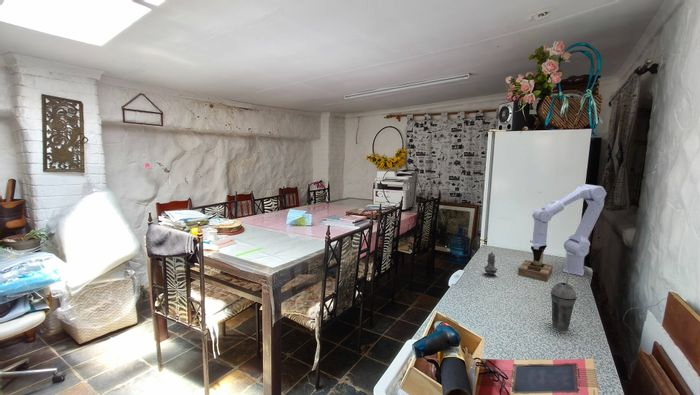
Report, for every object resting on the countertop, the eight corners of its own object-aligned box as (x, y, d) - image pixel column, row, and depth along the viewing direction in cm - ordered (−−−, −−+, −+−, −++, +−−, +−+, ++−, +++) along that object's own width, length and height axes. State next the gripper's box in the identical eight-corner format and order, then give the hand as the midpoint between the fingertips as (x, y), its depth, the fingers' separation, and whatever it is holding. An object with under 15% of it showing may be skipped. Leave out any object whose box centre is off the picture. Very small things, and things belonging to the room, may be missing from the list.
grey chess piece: (498, 278, 144) (500, 254, 143) (485, 277, 145) (486, 253, 144) (495, 273, 150) (496, 250, 148) (482, 272, 151) (483, 249, 149)
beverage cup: (542, 321, 107) (547, 267, 104) (561, 320, 108) (567, 266, 105) (558, 333, 100) (564, 275, 97) (578, 332, 100) (585, 275, 98)
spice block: (525, 266, 159) (525, 260, 159) (552, 272, 152) (552, 265, 151) (517, 274, 148) (518, 268, 148) (546, 281, 140) (547, 274, 140)
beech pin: (533, 262, 155) (535, 247, 154) (542, 264, 152) (544, 249, 151) (531, 264, 152) (533, 249, 151) (541, 266, 149) (542, 251, 148)
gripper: (533, 229, 158) (531, 254, 160) (527, 234, 147) (525, 261, 149) (549, 231, 153) (547, 257, 155) (544, 237, 142) (542, 265, 144)
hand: (537, 259), depth 152 cm, fingers closed on beech pin, 4 cm apart
